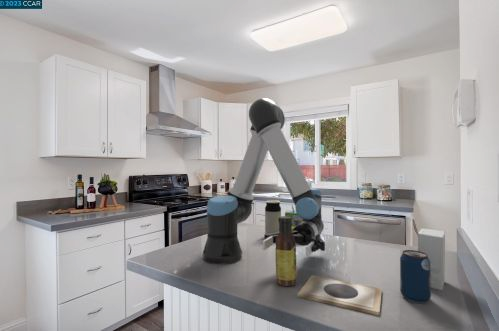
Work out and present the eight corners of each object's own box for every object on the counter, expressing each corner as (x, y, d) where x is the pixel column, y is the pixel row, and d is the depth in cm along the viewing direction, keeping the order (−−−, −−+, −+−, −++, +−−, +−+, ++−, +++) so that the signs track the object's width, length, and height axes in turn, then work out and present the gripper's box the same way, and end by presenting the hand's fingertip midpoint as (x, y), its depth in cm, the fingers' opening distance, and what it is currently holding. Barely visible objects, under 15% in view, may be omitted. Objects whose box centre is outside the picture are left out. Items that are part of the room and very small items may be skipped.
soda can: (437, 304, 70) (437, 257, 70) (411, 305, 69) (411, 257, 69) (418, 291, 76) (418, 248, 77) (394, 292, 76) (394, 249, 76)
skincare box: (420, 276, 87) (420, 227, 87) (446, 281, 83) (446, 230, 83) (416, 285, 81) (416, 232, 81) (444, 291, 76) (443, 236, 76)
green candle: (303, 236, 139) (302, 207, 139) (284, 235, 140) (284, 206, 140) (303, 231, 148) (303, 204, 148) (286, 231, 149) (286, 204, 150)
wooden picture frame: (297, 296, 74) (297, 292, 74) (311, 278, 86) (311, 274, 86) (379, 315, 64) (379, 311, 64) (381, 291, 76) (381, 288, 76)
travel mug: (276, 239, 131) (276, 202, 131) (262, 237, 136) (262, 201, 136) (283, 236, 138) (283, 200, 138) (269, 234, 142) (269, 199, 142)
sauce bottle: (299, 286, 80) (299, 218, 80) (279, 288, 79) (278, 219, 79) (292, 277, 86) (292, 215, 87) (273, 278, 85) (273, 215, 86)
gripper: (340, 248, 94) (327, 268, 75) (273, 239, 105) (247, 255, 86) (340, 226, 94) (327, 241, 75) (273, 219, 105) (247, 231, 86)
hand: (284, 248), depth 81 cm, fingers open, 13 cm apart
